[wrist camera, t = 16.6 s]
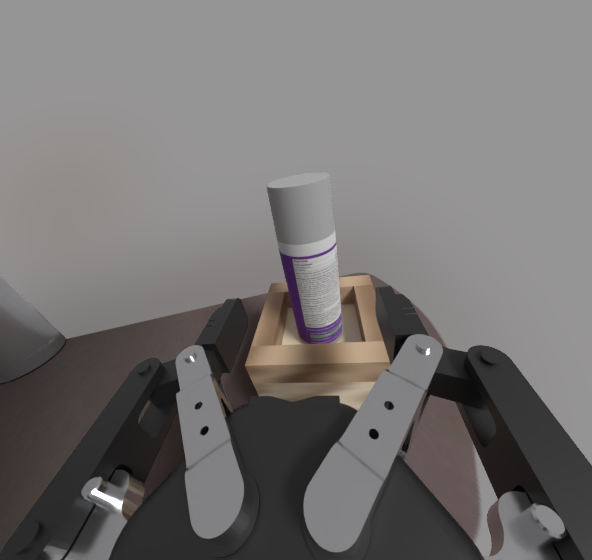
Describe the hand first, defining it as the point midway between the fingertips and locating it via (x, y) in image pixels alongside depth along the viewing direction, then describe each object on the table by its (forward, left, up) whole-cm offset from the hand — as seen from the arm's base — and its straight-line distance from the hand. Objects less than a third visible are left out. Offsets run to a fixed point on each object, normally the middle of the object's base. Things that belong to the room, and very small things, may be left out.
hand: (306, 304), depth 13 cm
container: (0, +7, -9) cm, 11 cm away
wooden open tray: (0, +7, -14) cm, 16 cm away
